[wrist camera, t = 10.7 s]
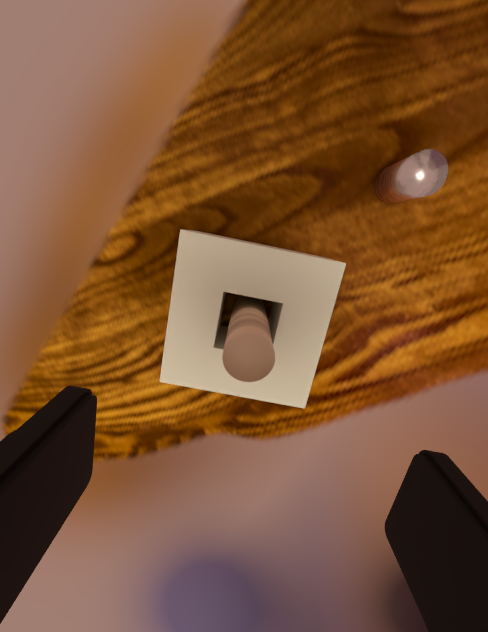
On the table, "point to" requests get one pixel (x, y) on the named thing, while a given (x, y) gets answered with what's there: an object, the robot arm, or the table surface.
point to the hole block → (258, 282)
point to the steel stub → (412, 177)
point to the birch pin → (248, 341)
